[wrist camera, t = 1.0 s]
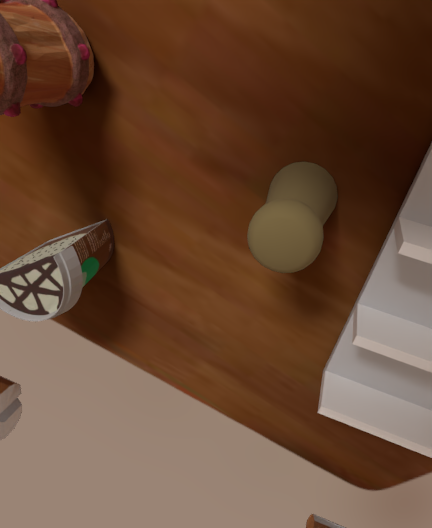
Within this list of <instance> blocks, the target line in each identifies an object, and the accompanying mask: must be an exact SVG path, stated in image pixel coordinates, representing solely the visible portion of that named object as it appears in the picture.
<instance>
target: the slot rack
mask: <svg viewBox="0 0 432 528" xmlns="http://www.w3.org/2000/svg"><path fill="white" fill-rule="evenodd" d="M318 413H320V414H322V415H325V416H327V417H330V418H332V419H335V420H337V421H340V422H342V423H345V424H347V425H350V426H352V427H355V428H357V429H360V430H362V431H365V432H368V433H370V434H373V435H375V436H378V437H380V438H383V439H385V440H388V441H390V442H393V443H395V444H398V445H400V446H403V447H405V448H408V449H410V450H413V451H415V452H418V453H420V454H423V455H425V456H428V457H430V458H432V143H431V145H430V147H429V149H428V151H427V153H426V155H425V157H424V159H423V162H422V164H421V166H420V168H419V170H418V172H417V174H416V176H415V178H414V181H413V183H412V185H411V187H410V189H409V191H408V193H407V195H406V197H405V199H404V202H403V204H402V206H401V208H400V210H399V212H398V214H397V216H396V218H395V221H394V223H393V225H392V227H391V229H390V231H389V233H388V235H387V237H386V239H385V242H384V244H383V246H382V248H381V250H380V252H379V254H378V256H377V258H376V260H375V263H374V265H373V267H372V269H371V271H370V273H369V275H368V277H367V279H366V282H365V284H364V286H363V288H362V290H361V292H360V294H359V296H358V298H357V300H356V303H355V305H354V307H353V309H352V311H351V313H350V315H349V317H348V319H347V322H346V324H345V326H344V328H343V330H342V332H341V334H340V336H339V338H338V340H337V343H336V345H335V347H334V349H333V351H332V353H331V355H330V357H329V359H328V362H327V364H326V366H325V368H324V370H323V375H322V383H321V391H320V398H319V406H318Z"/></svg>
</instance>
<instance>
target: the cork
mask: <svg viewBox="0 0 432 528" xmlns="http://www.w3.org/2000/svg"><path fill="white" fill-rule="evenodd" d="M337 198H338V195H337V186H336V184H335V182H334V179H333V177H332V176H331V175H330V174H329V173H328V172H327V171H326V169H324V168H322V167H321V166H319V165H317V164H315V163H309V162H297V163H292V164H290V165H288V166H286V167H284V168H282V169H281V170H280V171H279V172H278V173H277V174H276V175H275V176H274V178H273V180H272V182H271V184H270V188H269V192H268V196H267V200H266V204H265V205H263V206H262V207H261V208H260V209H259V210H258V211H257V212H256V213H255V214H254V216H253V218H252V220H251V222H250V224H249V228H248V235H247V239H248V244H249V249H250V251H251V252H252V254H253V256H254V258H255V259H256V260H257V261H258V262H259V263H260V264H261V265H263V266H264V267H266V268H268V269H270V270H272V271H276V272H280V273H293V272H296V271H299V270H302V269H304V268H306V267H307V266H308V265H310V264H311V263H312V262H313V261H314V260H315V259H316V257H317V256H318V254H319V253H320V251H321V247H322V243H323V239H324V235H323V225H324V224H325V222H326V221H327V219H328V218H329V216H330V215H331V213H332V212H333V210H334V208H335V206H336V202H337Z"/></svg>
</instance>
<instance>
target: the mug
mask: <svg viewBox="0 0 432 528" xmlns="http://www.w3.org/2000/svg"><path fill="white" fill-rule="evenodd" d="M93 58H94V56H93V53H92V50H91V47H90V45H89V42H88V40H87V37H86V35H85V33H84V31H83V30H82V29H81V28H80V27H79V25H78V24H77V23H76V21H75V20H74V19H73V18H72V17H71V16H70V15H68V14H67V13H66V12H65V11H63V10H62V9H61V8H60V7H59V6H58V4H57V1H56V0H0V115H2V114H5V115H7V116H11V117H14V116H18V115H19V114H20V107H22V106H25V105H29V104H30V106H31V107H33V108H42V107H43V106H49V107H55V106H60V105H63V104H66V103H69V104H70V105H72V106H76V107H77V106H80V105H81V104H82V101H83V98H82V94H83V93H84V92H85V90H86V89H87V87H88V85H89V84H90V83H91V81H92V78H93V73H94V60H93Z"/></svg>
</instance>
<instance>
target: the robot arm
mask: <svg viewBox="0 0 432 528" xmlns="http://www.w3.org/2000/svg"><path fill="white" fill-rule="evenodd" d="M20 394H21V387H20V384H17V383H15V382H13V381H11V380H9V379H6V378H4V377H2V376H0V440H2V439H4V438H6V437H7V436H8V435H9V434H10V432H11V431H12V430H13V429H14V428H15V426H16V424H17V423H18V421H19V419H20V416H21V413H22V404H21V402H20V401H19V399H18V398H17V397H18V396H19V395H20ZM306 528H345V527H343V526H341V525H338V524H336V523H334V522H331V521H329V520H326V519H324V518H321V517H319V516H317V515H314V514H312V515H310V517H309V518H308V520H307V524H306Z"/></svg>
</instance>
